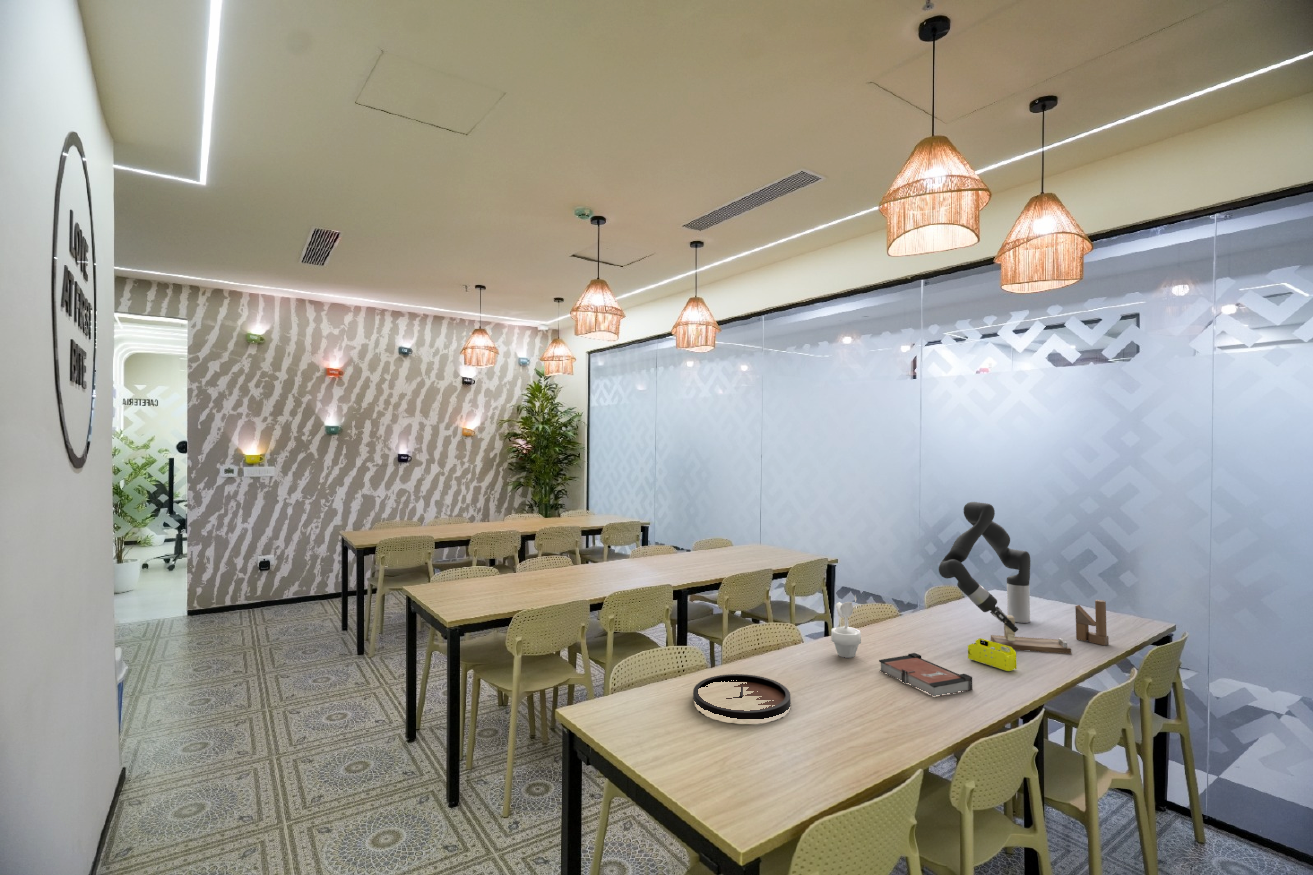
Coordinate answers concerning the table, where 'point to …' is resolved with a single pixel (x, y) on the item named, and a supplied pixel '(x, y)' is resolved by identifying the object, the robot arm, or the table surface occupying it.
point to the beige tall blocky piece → (1007, 631)
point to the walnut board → (1034, 644)
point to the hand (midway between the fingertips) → (1014, 629)
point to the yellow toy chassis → (993, 654)
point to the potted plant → (846, 632)
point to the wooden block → (1092, 624)
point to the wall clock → (755, 683)
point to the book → (925, 675)
